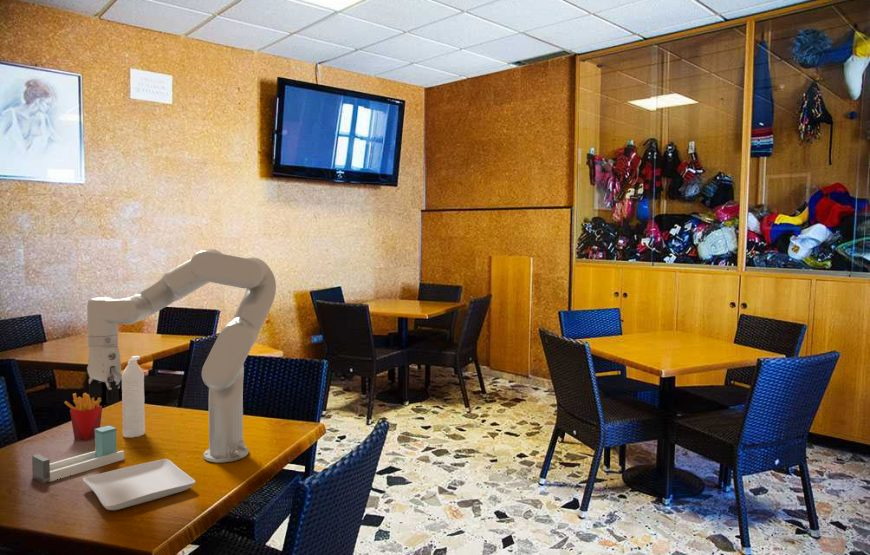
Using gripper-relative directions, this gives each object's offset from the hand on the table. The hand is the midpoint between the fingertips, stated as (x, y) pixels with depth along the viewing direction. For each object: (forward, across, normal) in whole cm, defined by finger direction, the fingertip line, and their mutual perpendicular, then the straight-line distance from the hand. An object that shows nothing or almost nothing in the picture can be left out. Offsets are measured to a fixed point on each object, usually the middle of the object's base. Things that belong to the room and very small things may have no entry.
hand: (104, 399), depth 168 cm
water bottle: (+18, +16, -17) cm, 29 cm away
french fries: (+18, +23, -5) cm, 30 cm away
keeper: (+17, 0, 0) cm, 17 cm away
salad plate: (+18, -27, +5) cm, 33 cm away
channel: (+18, 0, +7) cm, 19 cm away
